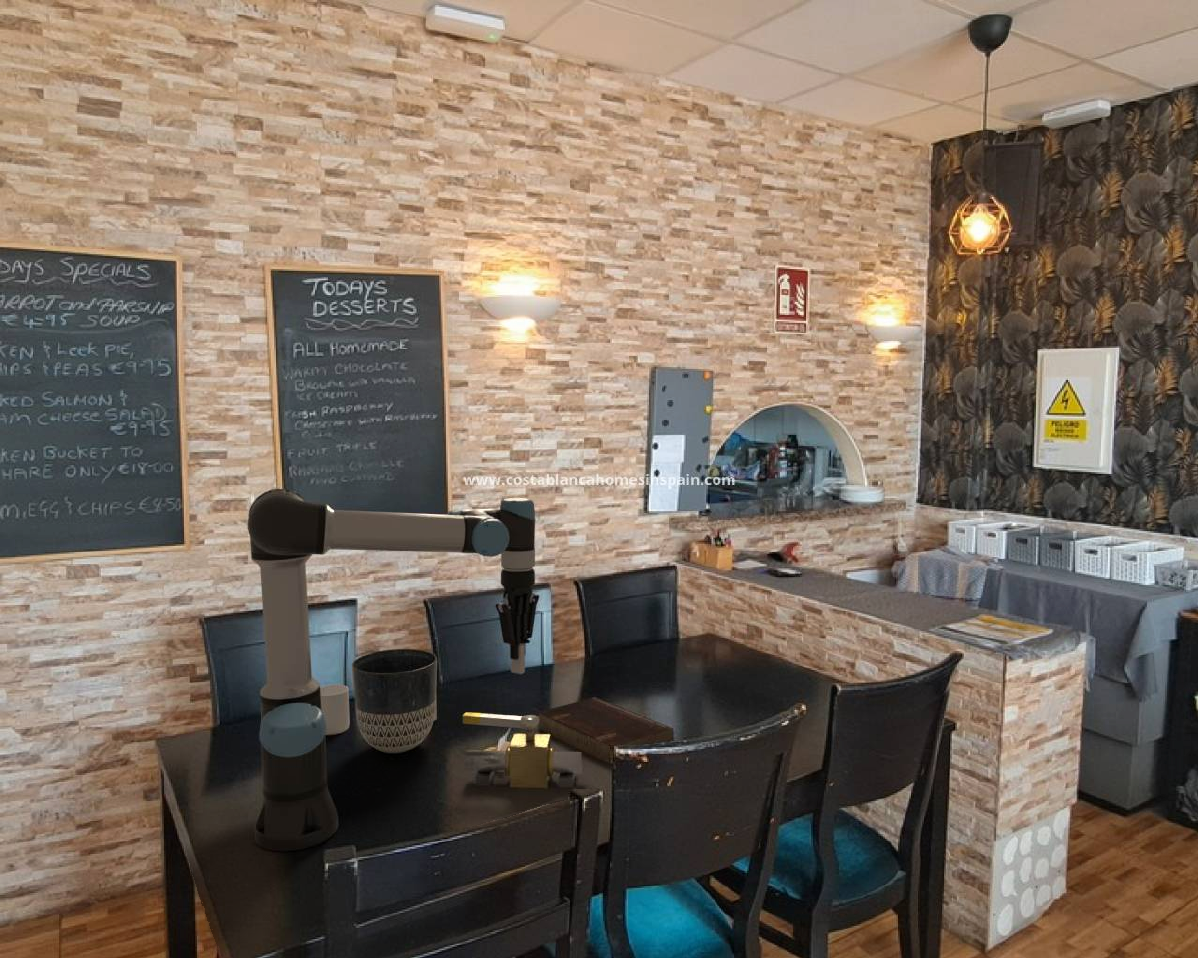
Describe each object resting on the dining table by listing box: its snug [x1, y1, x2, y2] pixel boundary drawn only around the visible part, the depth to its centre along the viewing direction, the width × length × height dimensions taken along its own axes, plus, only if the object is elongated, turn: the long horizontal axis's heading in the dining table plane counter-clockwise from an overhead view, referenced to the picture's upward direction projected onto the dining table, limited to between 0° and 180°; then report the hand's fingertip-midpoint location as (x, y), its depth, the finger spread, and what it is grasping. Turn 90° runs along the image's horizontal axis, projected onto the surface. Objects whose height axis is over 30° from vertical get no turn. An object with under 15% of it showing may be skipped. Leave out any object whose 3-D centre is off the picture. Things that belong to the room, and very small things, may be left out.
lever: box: [462, 711, 539, 731], centre depth 187 cm, size 17×4×2 cm, turn 78°
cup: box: [320, 684, 350, 736], centre depth 218 cm, size 8×12×10 cm
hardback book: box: [538, 696, 675, 765], centre depth 211 cm, size 29×19×5 cm, turn 40°
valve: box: [464, 730, 583, 789], centre depth 187 cm, size 7×25×12 cm, turn 87°
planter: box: [351, 648, 438, 754], centre depth 204 cm, size 20×20×21 cm
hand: (517, 672), depth 193 cm, fingers closed
